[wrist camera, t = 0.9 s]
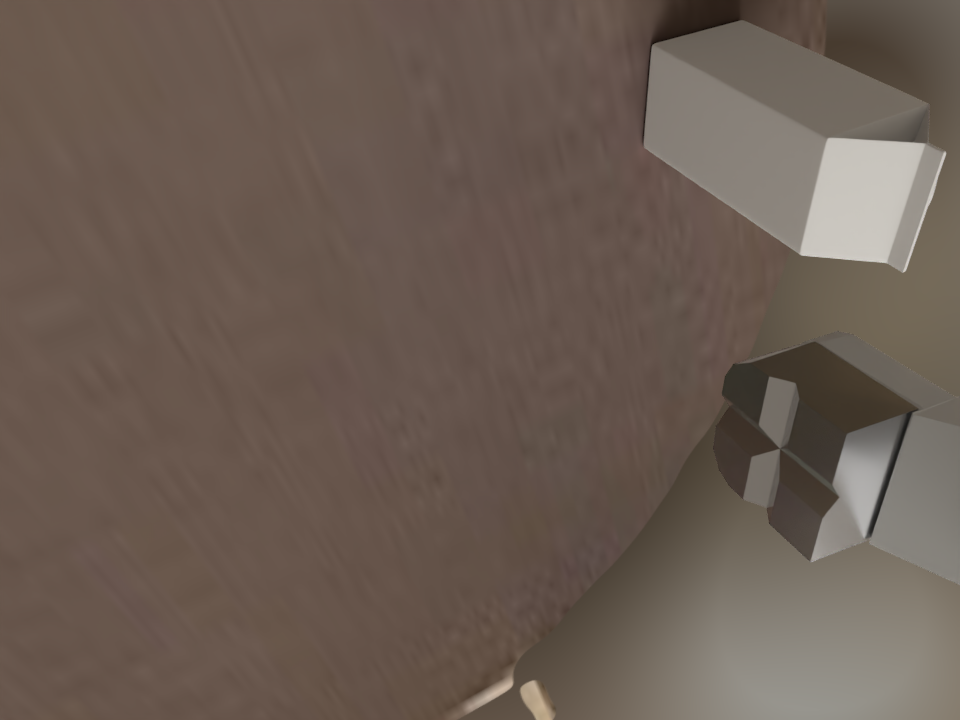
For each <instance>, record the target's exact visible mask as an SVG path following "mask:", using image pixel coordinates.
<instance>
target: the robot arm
mask: <svg viewBox="0 0 960 720" xmlns="http://www.w3.org/2000/svg"><path fill="white" fill-rule="evenodd" d="M722 396H723V397H724V399H725V400H726V402H727V403H728V405H729V408H728V409H727V411H726V412H725V413H724V415H723V416H722V418H721V419H720V421H719V422H718V423H717V425H716V430H715V438H714V446H713V449H714V453H715V456H716V461H717V464H718V468H719V471H720V472H721V474H722V475H723V477H724V479H725V480H726V482H727V483H728V485H729V486H730V487H731V488H732V489H733V490H734V491H735V492H736V493H737V494H738V495H739V496H740V497H741V498H742V499H743V500H746V501H749V502H752V503H755V504H758V505H761V506H763V507H766V508H767V513H768V519H769V524H770V525H771V526H772V527H773V528H774V529H775V530H776V531H777V532H778V533H780V534H781V535H782V536H783V537H784V538H785V539H786V540H787V541H788V542H789V543H790V544H791V545H792V546H794V547H795V548H796V549H797V550H798V551H799V552H800V553H801V554H802V555H803V556H804V557H805V558H806V559H808V560H809V561H810V562H812V561H815V560H817V559H820V558H823V557H825V556H827V555H831V554H833V553H836V552H839V551H841V550H844V549H847V548H849V547H852V546H855V545H857V544H860V543H863V542H865V541H868V540H870V542H869V544H871V545H873V546H875V547H877V548H879V549H882V550H884V551H886V552H888V553H890V554H893V555H895V556H897V557H899V558H902V559H904V560H906V561H908V562H910V563H913V564H915V565H917V566H919V567H921V568H924V569H926V570H928V571H930V572H932V573H935V574H937V575H939V576H941V577H944V578H946V579H948V580H950V581H952V582H954V583H957V584H959V585H960V397H955V396H953V395H951V394H950V393H948V392H946V391H945V390H943V389H941V388H940V387H938V386H937V385H935V384H933V383H932V382H930V381H928V380H927V379H925V378H924V377H922V376H920V375H919V374H917V373H915V372H914V371H912V370H910V369H909V368H907V367H905V366H904V365H902V364H901V363H899V362H897V361H896V360H894V359H892V358H891V357H889V356H887V355H886V354H884V353H883V352H881V351H879V350H878V349H876V348H875V347H873V346H871V345H870V344H868V343H866V342H865V341H863V340H861V339H860V338H858V337H857V336H855V335H853V334H849V333H844V332H839V331H837V332H833V333H830V334H827V335H824V336H821V337H818V338H814V339H811V340H808V341H805V342H803V343H801V344H799V345H794V346H791V347H788V348H784V349H781V350H778V351H775V352H771V353H768V354H765V355H762V356H758V357H755V358H752V359H748V360H745V361H742V362H738V363H735V364H733V366H732V367H731V368H730V370H729V371H728V373H727V374H726V376H725V380H724V385H723V390H722Z"/></svg>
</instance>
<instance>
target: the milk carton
mask: <svg viewBox="0 0 960 720" xmlns="http://www.w3.org/2000/svg"><path fill="white" fill-rule="evenodd" d="M929 110H930V105H929V104H927V103H925V102H923V101H921V100H919V99H917V98H915V97H913V96H911V95H908V94H906V93H904V92H901V91H899V90H897V89H895V88H893V87H891V86H888V85H886V84H884V83H882V82H880V81H877V80H875V79H873V78H871V77H868V76H866V75H864V74H862V73H860V72H857V71H855V70H853V69H850V68H848V67H846V66H844V65H842V64H839V63H837V62H835V61H833V60H831V59H828V58H826V57H824V56H822V55H820V54H817V53H815V52H813V51H811V50H809V49H806V48H804V47H802V46H800V45H797V44H795V43H793V42H791V41H789V40H786V39H784V38H782V37H780V36H777V35H775V34H773V33H771V32H769V31H766V30H764V29H762V28H760V27H758V26H755V25H753V24H751V23H749V22H746V21H744V20H740V21H736V22H732V23H729V24H725V25H721V26H718V27H714V28H710V29H706V30H703V31H699V32H695V33H691V34H688V35H684V36H680V37H677V38H673V39H669V40H665V41H662V42H658V43H654V44H653V45H652V49H651V59H650V71H649V83H648V95H647V107H646V119H645V131H644V147H645V148H646V149H647V150H648V151H650V152H651V153H653V154H654V155H656V156H657V157H659V158H660V159H662V160H663V161H664V162H666V163H667V164H669V165H670V166H672V167H673V168H675V169H676V170H678V171H679V172H680V173H682V174H683V175H685V176H686V177H688V178H689V179H691V180H692V181H694V182H695V183H697V184H698V185H699V186H701V187H702V188H704V189H705V190H707V191H708V192H710V193H711V194H713V195H714V196H716V197H717V198H718V199H720V200H721V201H723V202H724V203H726V204H727V205H729V206H730V207H732V208H733V209H734V210H736V211H737V212H739V213H740V214H742V215H743V216H745V217H746V218H748V219H749V220H751V221H752V222H753V223H755V224H756V225H758V226H759V227H761V228H762V229H764V230H765V231H767V232H768V233H770V234H771V235H772V236H774V237H775V238H777V239H778V240H780V241H781V242H783V243H784V244H786V245H787V246H788V247H790V248H791V249H793V250H794V251H796V252H797V253H799V254H800V255H803V256H813V257H825V258H836V259H847V260H859V261H870V262H881V263H882V262H883V263H888V264H890V265H891V266H893V267H894V268H896V269H898V270H899V271H901V272H905V271H906V268H907V266H908V263H909V260H910V257H911V254H912V251H913V248H914V245H915V243H916V240H917V237H918V234H919V231H920V228H921V225H922V222H923V219H924V216H925V213H926V211H927V208H928V205H929V204H930V202H931V199H932V197H933V194H934V191H935V187H936V184H937V179H938V176H939V173H940V170H941V167H942V164H943V161H944V158H945V155H946V152H945V151H944V150H942V149H940V148H938V147H936V146H934V145H932V144H930V143H928V137H929Z"/></svg>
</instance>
